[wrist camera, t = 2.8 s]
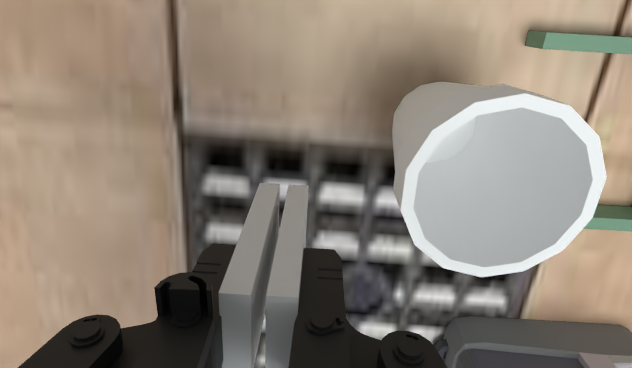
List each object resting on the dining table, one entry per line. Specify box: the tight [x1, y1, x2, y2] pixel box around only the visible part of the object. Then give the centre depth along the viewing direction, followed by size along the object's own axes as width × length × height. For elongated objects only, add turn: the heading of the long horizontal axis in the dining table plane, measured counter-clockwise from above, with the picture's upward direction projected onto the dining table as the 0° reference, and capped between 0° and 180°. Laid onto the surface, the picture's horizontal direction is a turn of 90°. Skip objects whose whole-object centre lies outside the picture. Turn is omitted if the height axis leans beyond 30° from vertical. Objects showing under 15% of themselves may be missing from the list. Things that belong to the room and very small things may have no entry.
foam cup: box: [392, 82, 607, 277], centre depth 25 cm, size 10×9×13 cm
